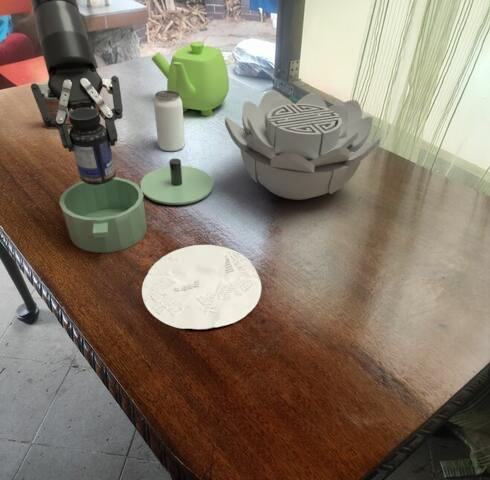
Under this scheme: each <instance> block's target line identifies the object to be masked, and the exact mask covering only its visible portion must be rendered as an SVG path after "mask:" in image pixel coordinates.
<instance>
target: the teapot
mask: <svg viewBox="0 0 490 480" xmlns="http://www.w3.org/2000/svg"><path fill="white" fill-rule="evenodd" d="M151 61H152V62H153V63H154V64H155V66H156V67H157V68H158V69H159V71H160V72H161V74H163V76H164V77H165V78H166V79H167V82H166V90H171V91H176V92H178V93H179V94H180V98H181V100H182V108H183V112H186V111H187V110H188V109H190V110H195V111H196V110H197V111H200V113H201V115H202V116H204V117H210V116H213V114H214V113H213V110H214V109H216V108H218V107H219V106H222V105H223V103H224V101H225V99H226V98H227V96H228V93H229V90H230V79H229V72H228V67H227V64H226V60H225V58H224V55H223V52H222V50H221V48H216V47H213V46H211V45H205V43H203V42H201V41H191V42H190V43H189V44H188V45H186V46H183V47H180V48H179V49H177V50H176V51H175V52H174V53H173V55H172V57H171V60H170V63H169V62H168V61H167V59H166V58H165V57H164V55H162V53H161V52H160V51H158V52H157V53H155V54H154V55H153V56H152V58H151Z"/></svg>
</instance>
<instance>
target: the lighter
mask: <svg viewBox="0 0 490 480" xmlns="http://www.w3.org/2000/svg"><path fill="white" fill-rule="evenodd" d="M37 85H38V86H41V85H42V84H37ZM45 103H46V106H47V108H48V110H49V113H50V115H51V116H57V112H58V106H59V100H58V99H57V98H56V97H55V96H54V95H53V94H52V93H51V92H50V93H49V94H48V100H47V101H45ZM71 111H73V110H72V109H70V112H71ZM40 116H41V119H42V125H43V128H45V129H49V130H50V129H51V130H58V129H57V128H55V127H47V126H46V125H45V123H44V120H43V118H42V115H41V114H40ZM66 125H67V129H68V130H71V128H72V127H73V125H72V124H71V123H70V118H69V117H68V119H67V123H66Z"/></svg>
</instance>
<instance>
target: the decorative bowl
mask: <svg viewBox="0 0 490 480" xmlns="http://www.w3.org/2000/svg"><path fill="white" fill-rule="evenodd" d="M241 115H242V119H241V122H242V126H243V127H242V126H240V125H238V123H236V122H234V121H233V120H232V119H230V118H229V117H228V116H226V117H224V119H225V120H224V126H225V127H226V130H227V132H228V134H229V137H230V138H231V140H232V141H233V143H234V144H235V145H236V147H238V149H239V150H240V155H241V159H242V161H243V165H244V167H245V170H246V171H247V173H248V174H249V176H250V177H251V179H252V180H254V182H255V183H256V184H257V183H260V185H262V186H263V187H264V188H266V189H267V190H268V191H269V192H270V193H272V194H273V195H276V196H277V197H281V198H284V199H289V200H297V201H298V200H299V201H300V200H307V199H311V198H315V197H320V196H323V195H325V194H328V193H329V194H330V195H332V194H333V193H335V192H337V191H338V190H340V189H341V188H342V187H344V186H345V185H346V184H347V183H348V182H349V181H350V180H351V178H352V177H353V176H354V175H355V173H356V172H357V170H358V168H359V166H360V164H361V162H362V161H363V160H364V159H366V158H367V157H368V156H369V155H370V154H371V153H372V152H374V151H375V150H376V148H377V147H379V146H380V142H381V139H382V137H379V138H377V139H376V140H373V141H370V142H369V143H368V142H367V143H366V141H367V140H368V138H369V136H370V133H371V131H372V130H371V129H372V126H373V121H374V117H373V116H366V117H363V118H362V115H363V114H362V107H361V105H360V103H359V101H358V100H357V99H350V100H347V101H344V102H342V103H335V104H332V105H330V106H327V103H326V102H325V100H324V98H322V97H321V95H319V94H318V93H316V92H310V93H307V94H305V95H304V96H302V97H301V98H300V99H299V100H298V101H296V103H294V102H293V101H291V100H290V98H288V97H285V95H283V94H282V93H281V92H280V91H277V90H274V89H270V90H268V91H267V92H266V93H265V94H264V95H263V97H262V98H261V100H260V102H259V104H258V105H256V104H255V103H254V102H252V101H247V100H245V101H244V103H243V106H242V114H241ZM365 143H366V144H365Z"/></svg>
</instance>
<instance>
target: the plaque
mask: <svg viewBox="0 0 490 480" xmlns="http://www.w3.org/2000/svg"><path fill="white" fill-rule="evenodd" d="M261 294H262V281H261V278H260V276H259V274H258V271H257V270H256V268H255V265H254V264H253V263H252V261H250V259H248V258H247V257H246V256H245V255H244V254H242V253H240V252H238V251H236V250H234V249H232V248H228V247H224V246H221V245H214V244H196V245H195V244H194V245H190V246H185V247H181V248H178V249H175V250H173V251H172V252H171V251H170V252H169V253H167V254H165V255H164V256H162V257H161V258H159V260H157V261H156V262H155V263H154V264H153V265H152V266H151V267H150V269H149V270H148V272H147V275H145V277H144V280H143V282H142V285H141V297H142V300H143V303H144V306H145V307H146V309H147V311H149V313H150V314H151V315H152V316H153V317H154V318H156V319H157V320H159V322H162V323H163V324H166V325H168V326H171V327H173V328H177V329H182V330H185V329H186V330H187V329H189V330H190V329H192V330H208V329H213V328H219V327H224V326H228V325H231V324H235V323H236V322H238V321H240V320H242V319H244V318H245V317H247V315H248V314H250V313H251V312H252V311H253V310H254V308H256V306H257V305H258V303H259V301H260V298H261Z"/></svg>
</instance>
